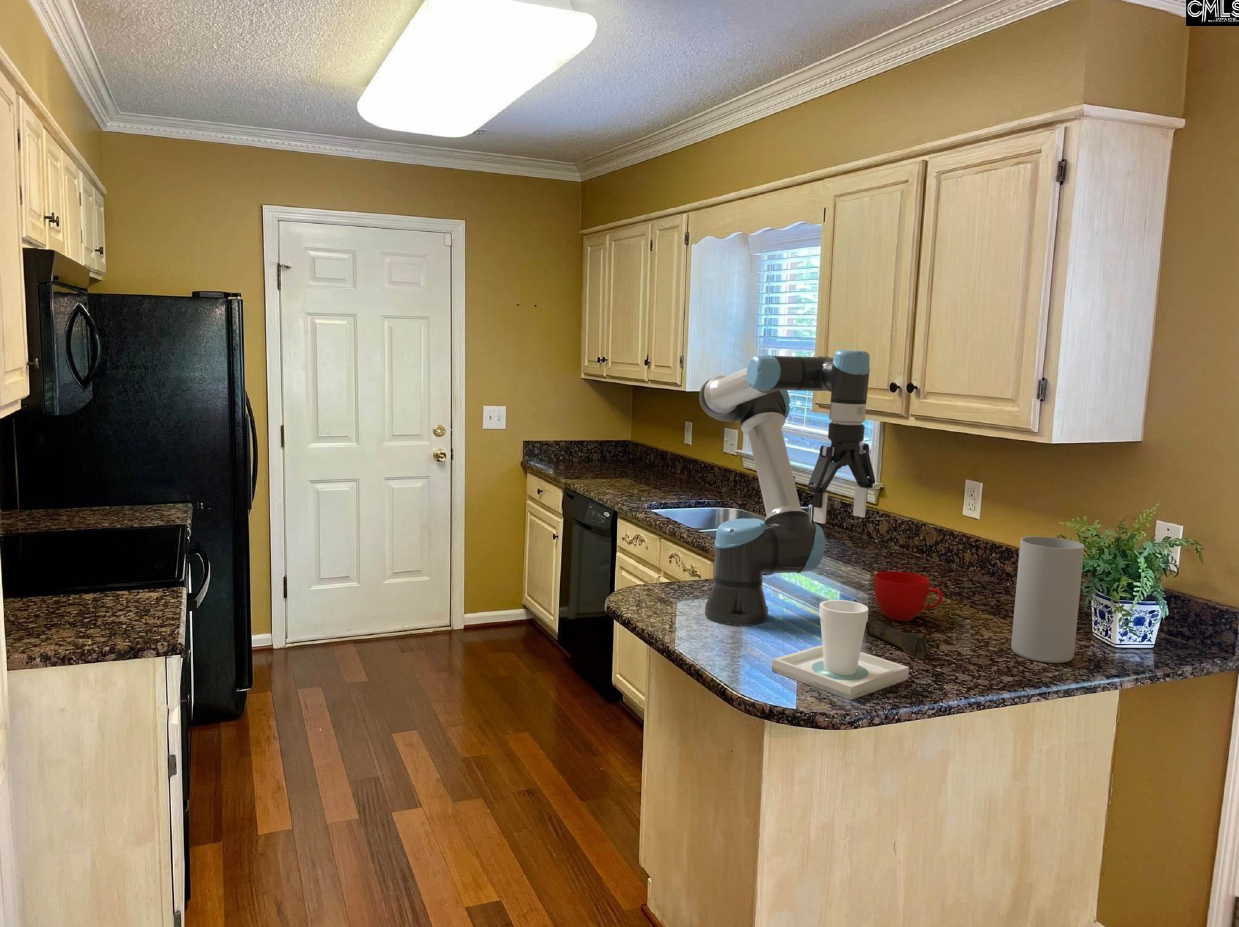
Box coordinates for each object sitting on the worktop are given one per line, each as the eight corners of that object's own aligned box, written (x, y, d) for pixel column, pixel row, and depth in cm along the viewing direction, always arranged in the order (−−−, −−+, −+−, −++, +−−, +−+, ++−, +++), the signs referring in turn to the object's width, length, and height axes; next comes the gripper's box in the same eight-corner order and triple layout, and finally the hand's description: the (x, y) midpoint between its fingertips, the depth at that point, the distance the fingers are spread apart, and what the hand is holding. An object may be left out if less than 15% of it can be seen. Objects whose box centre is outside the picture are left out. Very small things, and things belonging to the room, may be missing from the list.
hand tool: (863, 635, 215) (865, 615, 215) (878, 633, 216) (880, 614, 216) (914, 662, 197) (915, 641, 197) (930, 661, 199) (931, 639, 198)
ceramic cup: (928, 632, 218) (931, 590, 217) (862, 616, 230) (865, 576, 228) (951, 621, 228) (954, 581, 227) (887, 606, 239) (889, 568, 238)
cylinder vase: (1012, 659, 201) (1022, 544, 198) (1009, 642, 212) (1019, 534, 209) (1076, 667, 197) (1087, 551, 193) (1070, 650, 208) (1080, 540, 205)
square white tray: (771, 671, 188) (772, 659, 188) (830, 653, 200) (830, 642, 200) (850, 700, 174) (851, 687, 174) (908, 679, 186) (908, 667, 186)
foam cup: (873, 676, 184) (877, 611, 182) (830, 679, 181) (834, 614, 180) (848, 660, 193) (852, 598, 191) (807, 663, 190) (811, 600, 189)
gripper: (823, 426, 190) (815, 528, 194) (896, 422, 206) (888, 516, 209) (794, 422, 196) (788, 521, 199) (868, 418, 212) (860, 510, 215)
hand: (839, 519), depth 204 cm, fingers open, 13 cm apart
